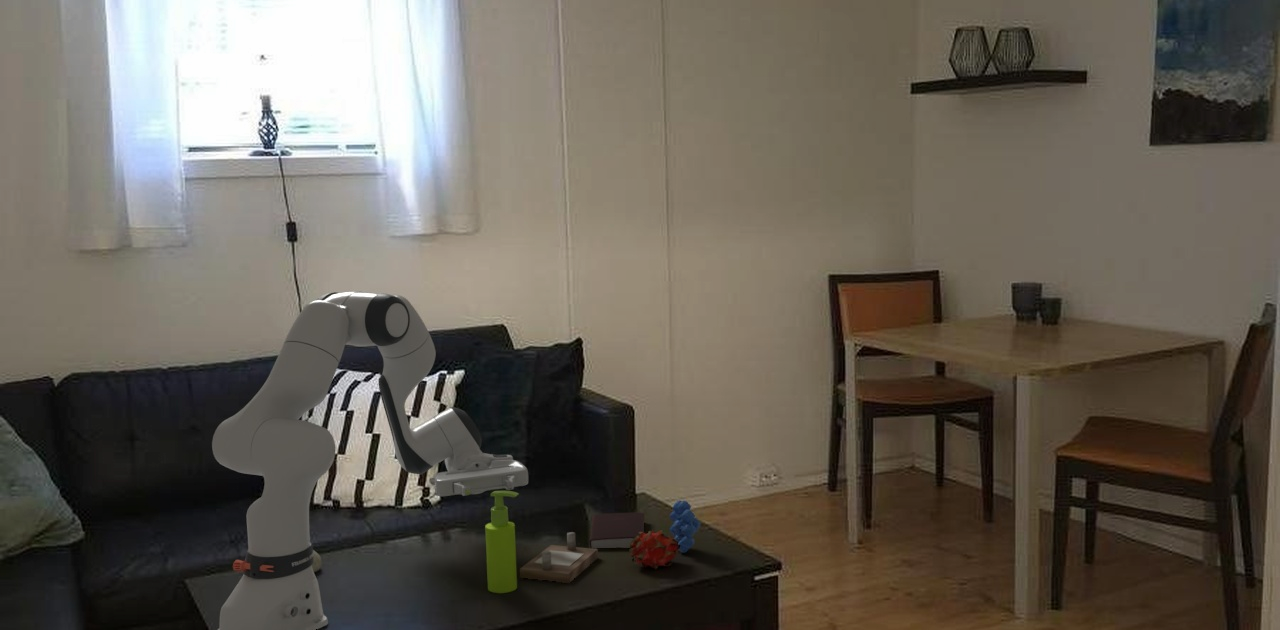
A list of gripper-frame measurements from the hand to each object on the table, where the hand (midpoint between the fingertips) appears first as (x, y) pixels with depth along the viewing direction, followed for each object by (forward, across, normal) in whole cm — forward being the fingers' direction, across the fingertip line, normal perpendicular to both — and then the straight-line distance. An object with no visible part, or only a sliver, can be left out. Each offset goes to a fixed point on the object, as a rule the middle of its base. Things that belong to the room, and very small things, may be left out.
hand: (488, 488), depth 237 cm
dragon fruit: (+13, +32, +18) cm, 39 cm away
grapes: (+8, +42, +18) cm, 46 cm away
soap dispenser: (+13, 0, +18) cm, 22 cm away
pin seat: (+6, +13, +18) cm, 23 cm away
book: (-10, +32, +19) cm, 38 cm away
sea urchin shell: (-16, -38, +17) cm, 45 cm away
